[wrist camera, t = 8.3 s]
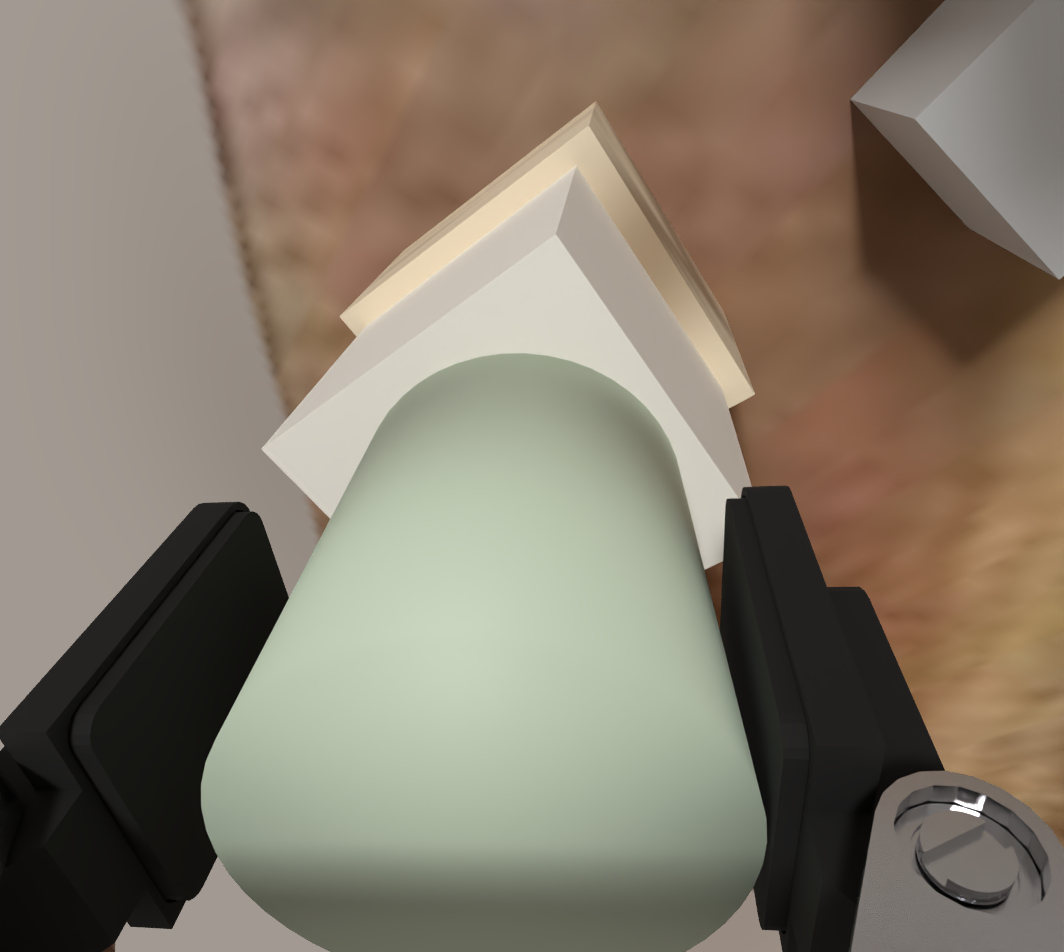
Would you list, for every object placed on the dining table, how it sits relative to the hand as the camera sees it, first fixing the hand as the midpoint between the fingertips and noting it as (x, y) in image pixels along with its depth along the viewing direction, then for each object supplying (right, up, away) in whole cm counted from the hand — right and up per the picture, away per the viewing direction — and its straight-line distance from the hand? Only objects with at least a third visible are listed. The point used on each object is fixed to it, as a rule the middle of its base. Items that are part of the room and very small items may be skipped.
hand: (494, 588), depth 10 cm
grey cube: (+12, +11, +9) cm, 19 cm away
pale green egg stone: (0, +1, +2) cm, 2 cm away
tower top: (+1, +4, +7) cm, 8 cm away
